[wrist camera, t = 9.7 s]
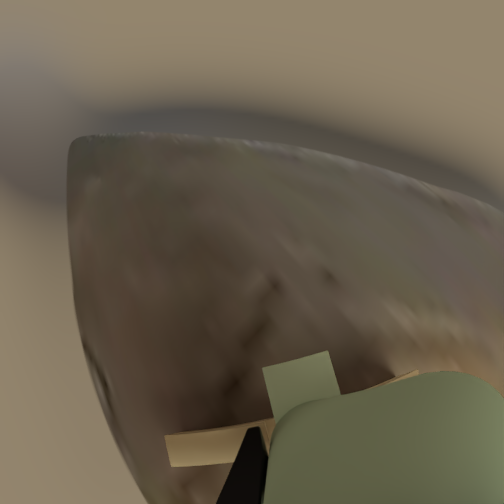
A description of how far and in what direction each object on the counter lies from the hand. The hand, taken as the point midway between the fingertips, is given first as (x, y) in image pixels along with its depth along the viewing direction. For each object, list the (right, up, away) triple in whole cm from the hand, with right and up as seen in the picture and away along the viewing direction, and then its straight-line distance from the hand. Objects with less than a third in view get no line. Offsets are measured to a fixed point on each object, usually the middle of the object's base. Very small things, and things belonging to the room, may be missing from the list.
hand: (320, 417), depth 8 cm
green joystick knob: (+1, -5, +5) cm, 7 cm away
